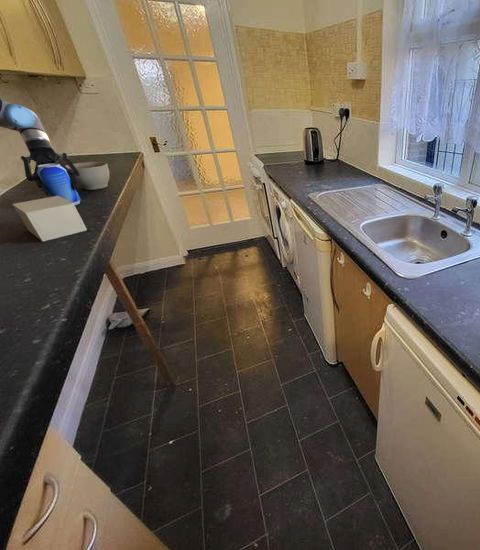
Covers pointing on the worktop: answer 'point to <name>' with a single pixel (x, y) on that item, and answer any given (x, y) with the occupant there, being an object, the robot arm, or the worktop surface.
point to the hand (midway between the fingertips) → (62, 191)
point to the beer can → (58, 182)
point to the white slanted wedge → (50, 217)
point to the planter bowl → (92, 175)
